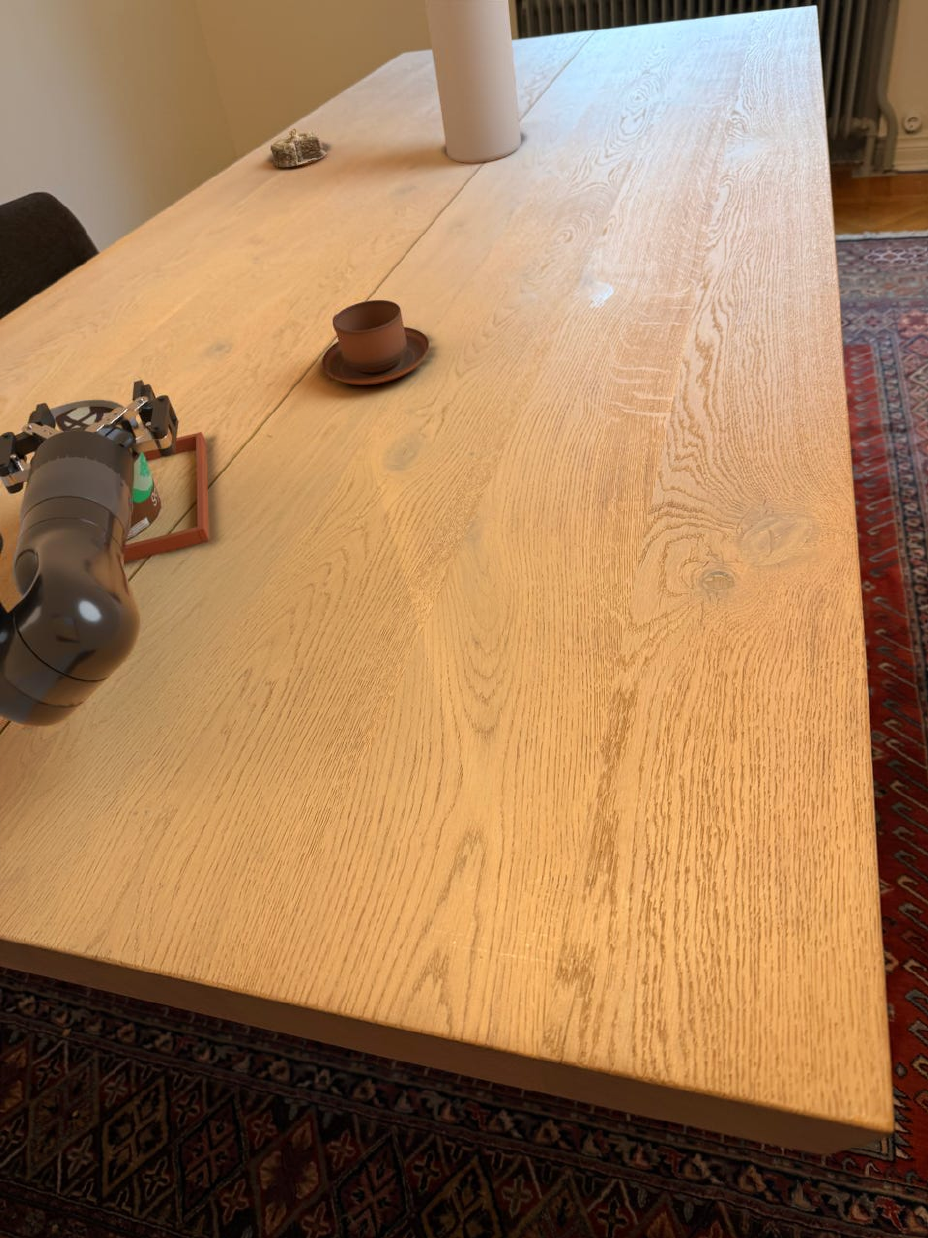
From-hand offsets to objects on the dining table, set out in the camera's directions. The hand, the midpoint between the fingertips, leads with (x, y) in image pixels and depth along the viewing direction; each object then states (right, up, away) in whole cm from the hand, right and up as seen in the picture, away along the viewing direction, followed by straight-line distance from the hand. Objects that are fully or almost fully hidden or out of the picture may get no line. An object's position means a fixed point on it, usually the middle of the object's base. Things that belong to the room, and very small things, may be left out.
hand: (94, 401), depth 80 cm
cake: (+3, +64, +84) cm, 106 cm away
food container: (+2, -9, +6) cm, 11 cm away
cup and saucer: (+23, +9, +21) cm, 33 cm away
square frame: (+2, -9, +6) cm, 11 cm away
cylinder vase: (+36, +59, +72) cm, 100 cm away
